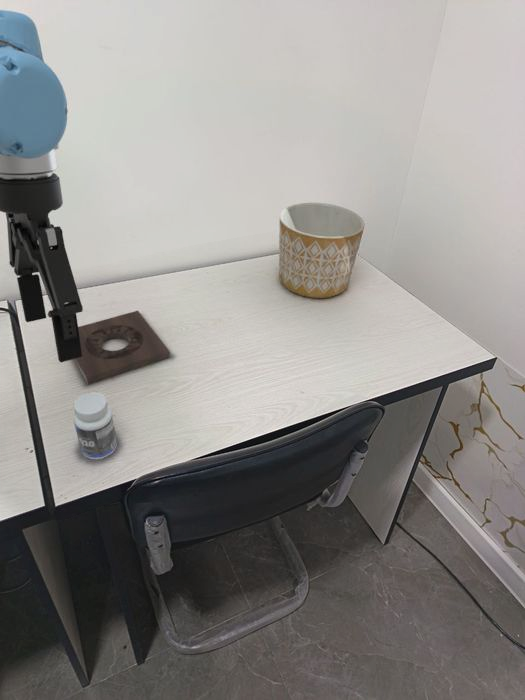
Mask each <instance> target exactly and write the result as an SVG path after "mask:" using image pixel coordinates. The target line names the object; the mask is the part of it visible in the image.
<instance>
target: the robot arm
mask: <svg viewBox="0 0 525 700" xmlns="http://www.w3.org/2000/svg"><path fill="white" fill-rule="evenodd" d="M68 113H69V111H68V100H67V95H66V92H65V90H64V87H63V84H62V83H61V80H60V79H59V77H58V76H57V74H56V73H55V72H54V70H53V69H52V68H51V67H50V66H49V65H48V64H47V63H46V62H45V60H44V57H43V52H42V46H41V41H40V36H39V33H38V29H37V26H36V23H35V22H34V20H33V19H32V18H31V17H30V16H28V15H26V14H24V13H21V12H17V11H13V10H5V9H4V10H3V9H0V212H1V213H5V217H6V224H7V239H8V257H9V261H8V262H9V263H8V264H9V265H10V267H11V268H13V273H14V274H15V275H16V280H17V285H18V290H19V296H20V300H21V305H22V310H23V315H24V321H25V322H26V323H30V322H35V321H40V320H44V319H47V317H48V318H51V323H52V329H53V335H54V336H53V337H54V341H55V346H56V352H57V359H58V361H59V362H60V363H65V362H68V361H71V360H74V359H76V358H79V357H82V351H81V344H80V337H79V331H78V327H79V325H78V317H77V314H79V313H82V312H83V311H84V309H83V304H82V302H81V298H80V295H79V290H78V288H77V285H76V280H75V277H74V274H73V270H72V267H71V263H70V260H69V256H68V253H67V249H66V247H65V246H66V244H65V240H64V236H63V235H64V234H63V229H62V227H61V226H59V225H58V226H55V225H54V224H53V223H51V221H50V220H51V219H50V218H49V214H51V212H53V211H57V210H59V209H60V208H61V207H62V206H63V204H64V203H63V202H64V201H63V193H62V186H61V180H60V176H58V175H57V174H56V173H54V172H55V171H56V170H57V169H58V163H57V162H58V161H57V155H56V150H58V149H59V148H60V147H59V146H60V144H59V143H60V142H61V140H62V139H63V136H64V134H65V132H66V129H67V125H68ZM40 278H41V279H40ZM41 281H42V285H43V286H44V290H45V292H46V295H47V298H48V300H49V303H50V305H51V310H48V311H47V312H46V307H45V302H44V301H45V300H44V296H43V289H42V285H41Z"/></svg>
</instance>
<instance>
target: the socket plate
mask: <svg viewBox="0 0 525 700" xmlns="http://www.w3.org/2000/svg"><path fill="white" fill-rule="evenodd" d="M78 331H79V337H80V344H81V351H82V357H79V358H76V359H73V360H74V362H75V364H76V366H77V367H78V369H79V371H80V373H81V375H82V376H83V378H84V380H85V382H86V384H87V385H91V384H95V383H97V382H99V381H102V380H106V379H109V378H111V377H114V376H117V375H118V376H119V375H121V374H124V373H127V372H129V371H133V370H136V369H138V368H139V369H140V368H142V367H146V366H148V365H151V364H154V363H157V362H161V361H163V360H167V359H169V358H171V351H170V349H168V347H167V346H166V345H165V344H164V342H163V341H162V340H161V338H160V337H159V335H158V334H157V333H156V332H155V331H154V329H153V328H152V327H151V325H150V324H149V323H148V322H147V320H146V319H145V317H144V316H143V315H142V314H141V313H140V312H139V311H138V310H134V311H131V312H128V313H123V314H120V315H117V316H113V317H109V318H105V319H102V320H98V321H94V322H92V323H87V324H84V325H80V326H78ZM113 339H121V340H125V341H127V342H128V344H127V345H126V346H124V347H123V348H120V349H117V350H108V349H105V348H103V347H101V346H102V345H103V344H104V343H105V342H107V341H110V340H113Z"/></svg>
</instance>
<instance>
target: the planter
mask: <svg viewBox="0 0 525 700" xmlns="http://www.w3.org/2000/svg"><path fill="white" fill-rule="evenodd" d="M365 224H366V223H365V221H364V219H363V218H362V216H360V215H359V214H358V213H356V212H355V211H353V210H351V209H348V208H346V207H343V206H340V205H337V204H331V203H324V202H303V203H297V204H296V203H295V204H293V205H292V204H291V205H289V206H287V207H285V208H284V209H282V210H281V212H280V213H279V230H278V231H279V233H278V234H279V235H278V236H279V237H278V239H279V240H278V243H279V245H278V277H279V280H280V282H281V283H282V285H283V286H284V287H285V288H286V289H288V290H289V291H291V292H292V293H294V294H296V295H298V296H303V297H305V298H311V299H312V298H313V299H326V298H332V297H334V296H337V295H339V294H341V293H342V292H344V291H345V290H346V289H347V287H348V286H349V284H350V280H351V277H352V273H353V269H354V265H355V262H356V258H357V256H358V251H359V247H360V244H361V241H362V237H363V233H364V229H365V226H366V225H365Z"/></svg>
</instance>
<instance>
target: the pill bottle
mask: <svg viewBox="0 0 525 700" xmlns="http://www.w3.org/2000/svg"><path fill="white" fill-rule="evenodd" d="M73 410H74V411H73V412H74V415H73V424H74V428H75V432H76V436H77V440H78V444H79V448H80V451H81V453H82V455H83V456H84V457H85V458H87V459H89V460H102V459H105V458H107V457H109V456H110V455H112V454H113V453H114V452H115V451H116V449H117V446H118V445H117V444H118V441H117V434H116V428H115V424H114V423H115V422H114V418H113V412H112V409H111V408H110V407H109V405H108V399H107V398H106V396H105V395H104V394H102V393H100V392H95V391H91V392H86V393H85V392H84V393H83V394H80V395H79V396H78V397H77V398H75V400H74V402H73Z"/></svg>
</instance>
